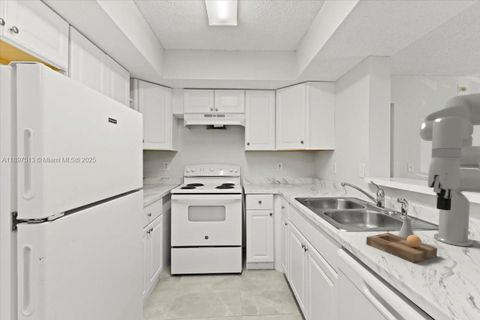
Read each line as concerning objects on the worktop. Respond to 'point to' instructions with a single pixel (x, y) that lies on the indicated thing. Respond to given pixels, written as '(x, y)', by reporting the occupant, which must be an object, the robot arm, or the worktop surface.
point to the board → (401, 247)
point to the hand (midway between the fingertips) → (443, 209)
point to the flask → (406, 228)
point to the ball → (414, 241)
